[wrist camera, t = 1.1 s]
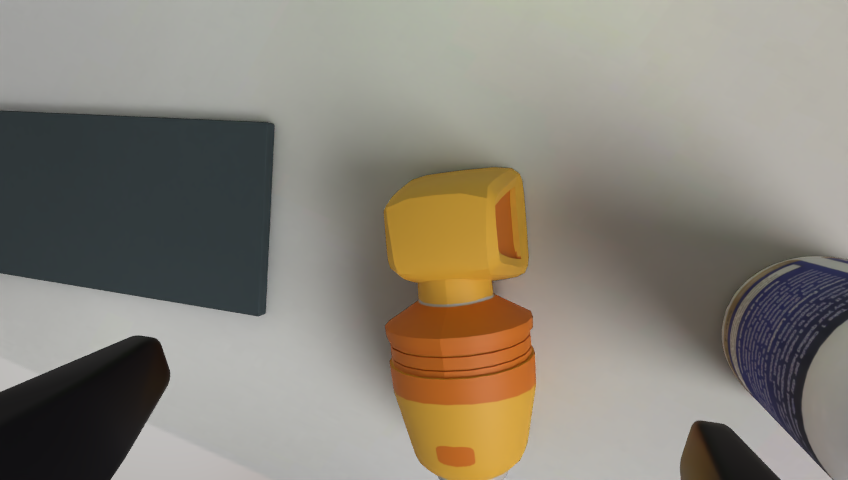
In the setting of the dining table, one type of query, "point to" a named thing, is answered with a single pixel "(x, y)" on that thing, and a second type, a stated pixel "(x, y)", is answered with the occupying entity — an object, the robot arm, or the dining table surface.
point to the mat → (139, 205)
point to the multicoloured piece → (462, 321)
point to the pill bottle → (796, 352)
